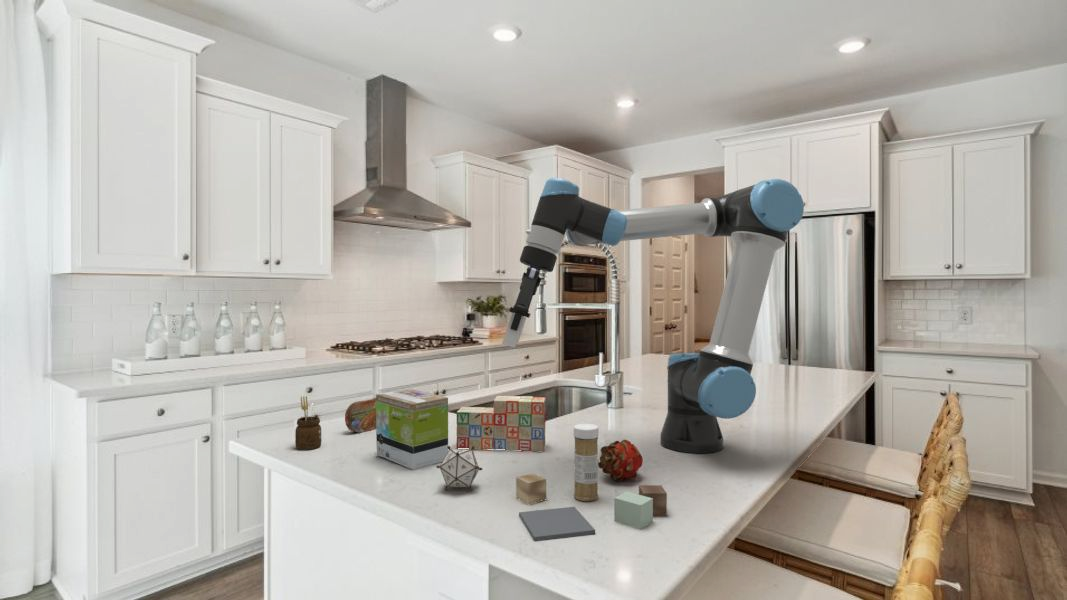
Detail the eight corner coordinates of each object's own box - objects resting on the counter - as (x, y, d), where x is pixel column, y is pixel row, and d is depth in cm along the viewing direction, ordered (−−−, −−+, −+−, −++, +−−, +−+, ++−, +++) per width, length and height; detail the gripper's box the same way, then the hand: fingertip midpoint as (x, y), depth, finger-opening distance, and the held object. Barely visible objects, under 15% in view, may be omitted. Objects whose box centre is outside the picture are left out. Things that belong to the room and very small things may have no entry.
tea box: (374, 456, 130) (374, 393, 130) (411, 448, 138) (410, 387, 138) (412, 471, 120) (412, 402, 120) (449, 460, 128) (449, 395, 127)
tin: (350, 435, 149) (350, 404, 149) (342, 434, 151) (342, 402, 151) (393, 424, 162) (393, 395, 162) (385, 423, 164) (385, 394, 163)
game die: (462, 511, 108) (457, 480, 102) (431, 487, 112) (424, 456, 106) (493, 478, 114) (489, 447, 107) (462, 457, 118) (457, 426, 112)
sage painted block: (626, 514, 98) (626, 491, 98) (652, 522, 94) (652, 498, 94) (614, 521, 94) (614, 497, 94) (640, 529, 91) (640, 505, 91)
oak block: (533, 494, 107) (533, 473, 107) (546, 500, 104) (546, 478, 104) (516, 498, 105) (516, 477, 105) (528, 505, 102) (528, 483, 101)
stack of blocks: (455, 450, 136) (455, 399, 136) (461, 443, 143) (461, 394, 143) (544, 452, 135) (544, 401, 134) (545, 445, 141) (546, 396, 141)
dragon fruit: (607, 495, 111) (624, 485, 121) (643, 474, 108) (657, 465, 119) (585, 456, 114) (603, 449, 124) (619, 434, 111) (635, 430, 122)
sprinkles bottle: (596, 493, 107) (596, 422, 107) (599, 502, 103) (600, 428, 103) (572, 493, 107) (572, 422, 107) (574, 502, 103) (575, 428, 102)
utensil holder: (300, 452, 134) (300, 401, 134) (291, 446, 139) (291, 397, 138) (325, 447, 138) (325, 398, 138) (315, 442, 143) (315, 395, 142)
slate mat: (574, 509, 99) (574, 506, 99) (595, 533, 89) (595, 529, 89) (519, 515, 96) (519, 512, 96) (534, 540, 87) (534, 536, 87)
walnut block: (661, 507, 101) (661, 485, 101) (666, 516, 97) (666, 493, 97) (638, 507, 101) (638, 485, 101) (643, 516, 97) (643, 493, 97)
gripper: (526, 251, 133) (497, 336, 133) (523, 235, 108) (488, 340, 108) (556, 261, 133) (528, 347, 133) (560, 247, 108) (525, 353, 108)
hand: (510, 344), depth 120 cm, fingers open, 13 cm apart
